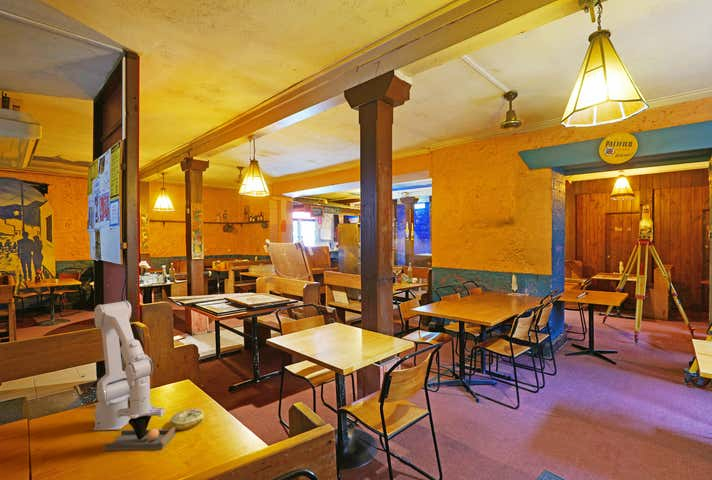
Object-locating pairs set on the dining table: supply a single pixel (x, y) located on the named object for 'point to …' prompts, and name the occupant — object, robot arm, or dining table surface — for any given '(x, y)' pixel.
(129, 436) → the lane
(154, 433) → the ball
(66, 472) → the dining table surface
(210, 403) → the dining table surface
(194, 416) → the decorated donut
